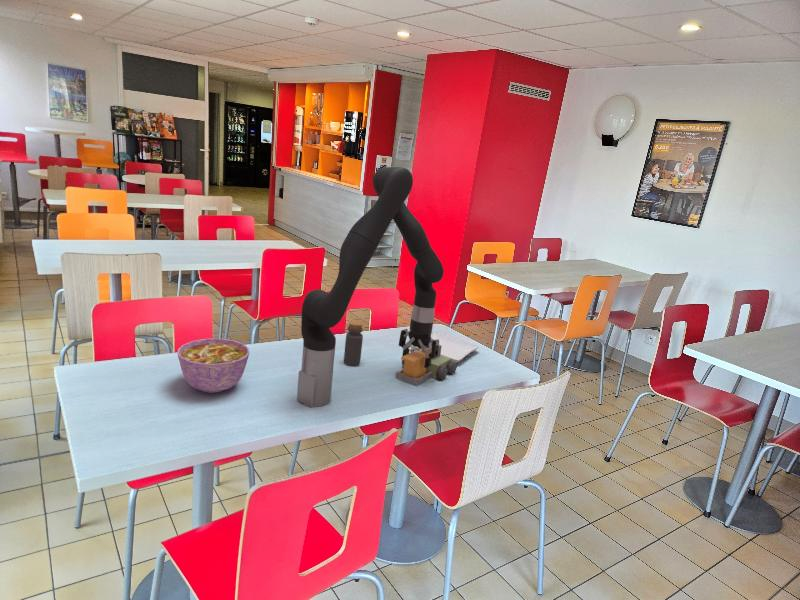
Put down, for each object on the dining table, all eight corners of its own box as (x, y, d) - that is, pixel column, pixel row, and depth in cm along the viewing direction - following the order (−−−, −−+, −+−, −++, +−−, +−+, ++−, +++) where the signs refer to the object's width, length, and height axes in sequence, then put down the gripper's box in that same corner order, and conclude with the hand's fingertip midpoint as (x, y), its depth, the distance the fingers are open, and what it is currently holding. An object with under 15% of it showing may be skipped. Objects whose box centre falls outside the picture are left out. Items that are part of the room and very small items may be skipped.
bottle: (352, 367, 184) (356, 326, 180) (340, 362, 188) (343, 322, 183) (363, 363, 189) (367, 323, 185) (351, 358, 192) (355, 319, 188)
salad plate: (457, 368, 196) (459, 359, 195) (407, 352, 206) (408, 343, 205) (478, 353, 214) (480, 345, 213) (431, 338, 224) (433, 331, 223)
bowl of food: (239, 369, 172) (240, 336, 169) (255, 397, 155) (257, 360, 152) (172, 376, 162) (172, 340, 159) (182, 406, 145) (182, 367, 142)
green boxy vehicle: (426, 389, 174) (430, 364, 172) (386, 374, 182) (389, 349, 180) (455, 372, 191) (459, 349, 189) (417, 358, 199) (420, 336, 197)
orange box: (411, 383, 176) (414, 361, 174) (398, 379, 179) (401, 356, 177) (425, 375, 184) (428, 354, 182) (413, 371, 187) (416, 350, 184)
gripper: (398, 314, 177) (392, 359, 181) (435, 326, 170) (428, 373, 174) (410, 310, 183) (404, 354, 188) (446, 321, 176) (439, 367, 180)
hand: (415, 363), depth 181 cm, fingers open, 8 cm apart
